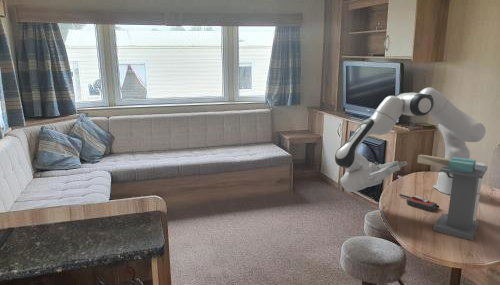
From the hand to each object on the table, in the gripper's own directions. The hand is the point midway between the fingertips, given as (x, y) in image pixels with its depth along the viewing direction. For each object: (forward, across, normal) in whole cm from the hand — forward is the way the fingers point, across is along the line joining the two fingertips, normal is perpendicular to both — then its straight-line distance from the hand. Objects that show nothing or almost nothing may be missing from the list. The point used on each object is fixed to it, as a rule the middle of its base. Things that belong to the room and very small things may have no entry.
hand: (402, 165), depth 161 cm
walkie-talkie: (-10, +21, +22) cm, 32 cm away
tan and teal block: (+15, 0, +6) cm, 16 cm away
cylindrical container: (+9, +17, +33) cm, 38 cm away
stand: (+8, +3, +32) cm, 33 cm away
